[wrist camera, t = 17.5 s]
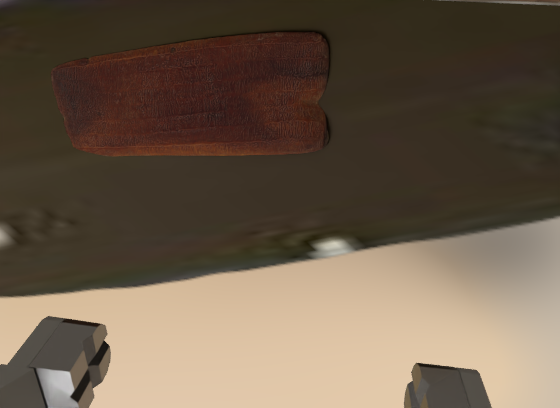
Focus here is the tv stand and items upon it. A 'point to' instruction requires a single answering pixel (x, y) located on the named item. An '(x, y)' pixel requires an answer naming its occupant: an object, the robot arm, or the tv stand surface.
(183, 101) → the reddish wooden board
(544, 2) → the wooden plank holder
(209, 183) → the tv stand surface
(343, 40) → the tv stand surface
